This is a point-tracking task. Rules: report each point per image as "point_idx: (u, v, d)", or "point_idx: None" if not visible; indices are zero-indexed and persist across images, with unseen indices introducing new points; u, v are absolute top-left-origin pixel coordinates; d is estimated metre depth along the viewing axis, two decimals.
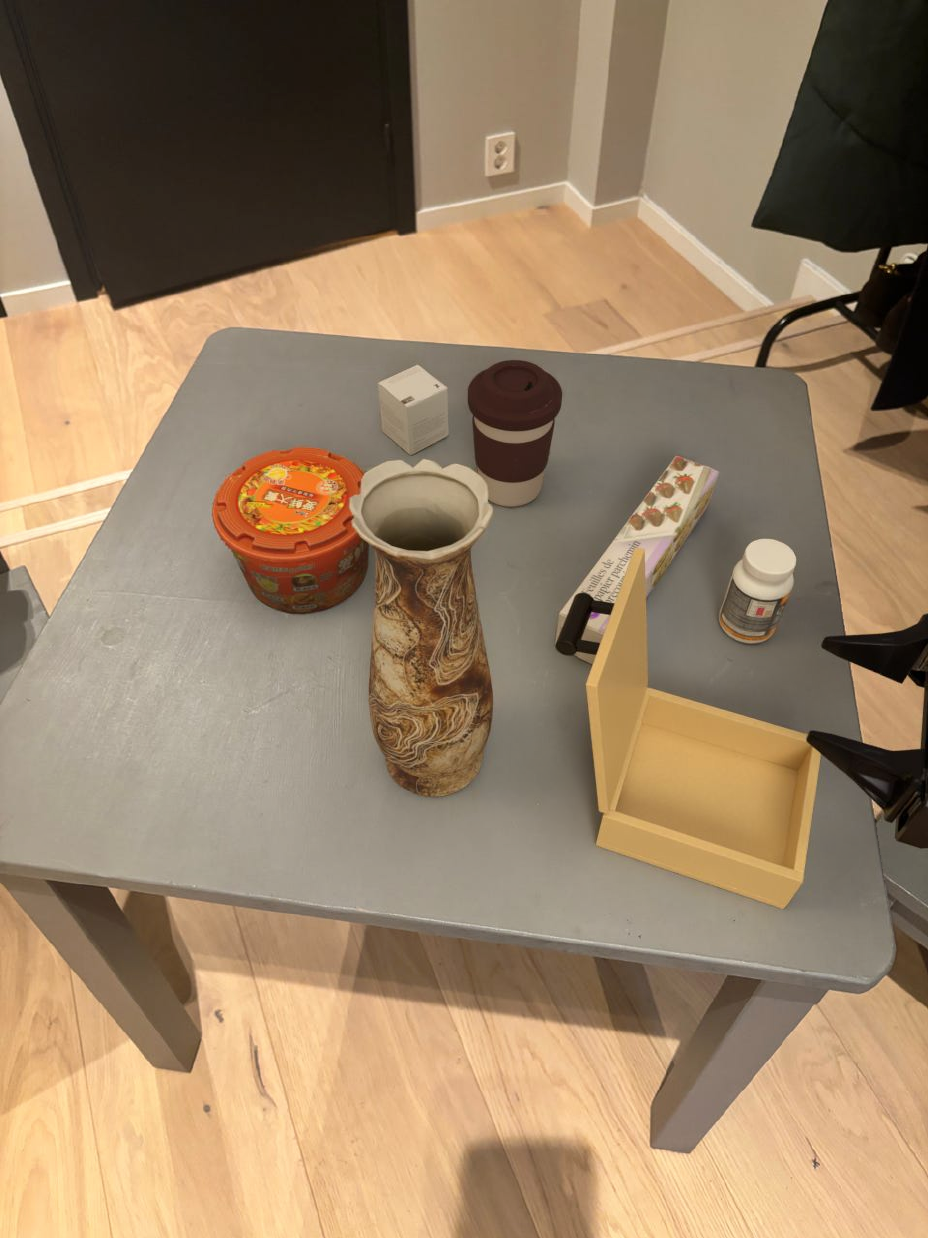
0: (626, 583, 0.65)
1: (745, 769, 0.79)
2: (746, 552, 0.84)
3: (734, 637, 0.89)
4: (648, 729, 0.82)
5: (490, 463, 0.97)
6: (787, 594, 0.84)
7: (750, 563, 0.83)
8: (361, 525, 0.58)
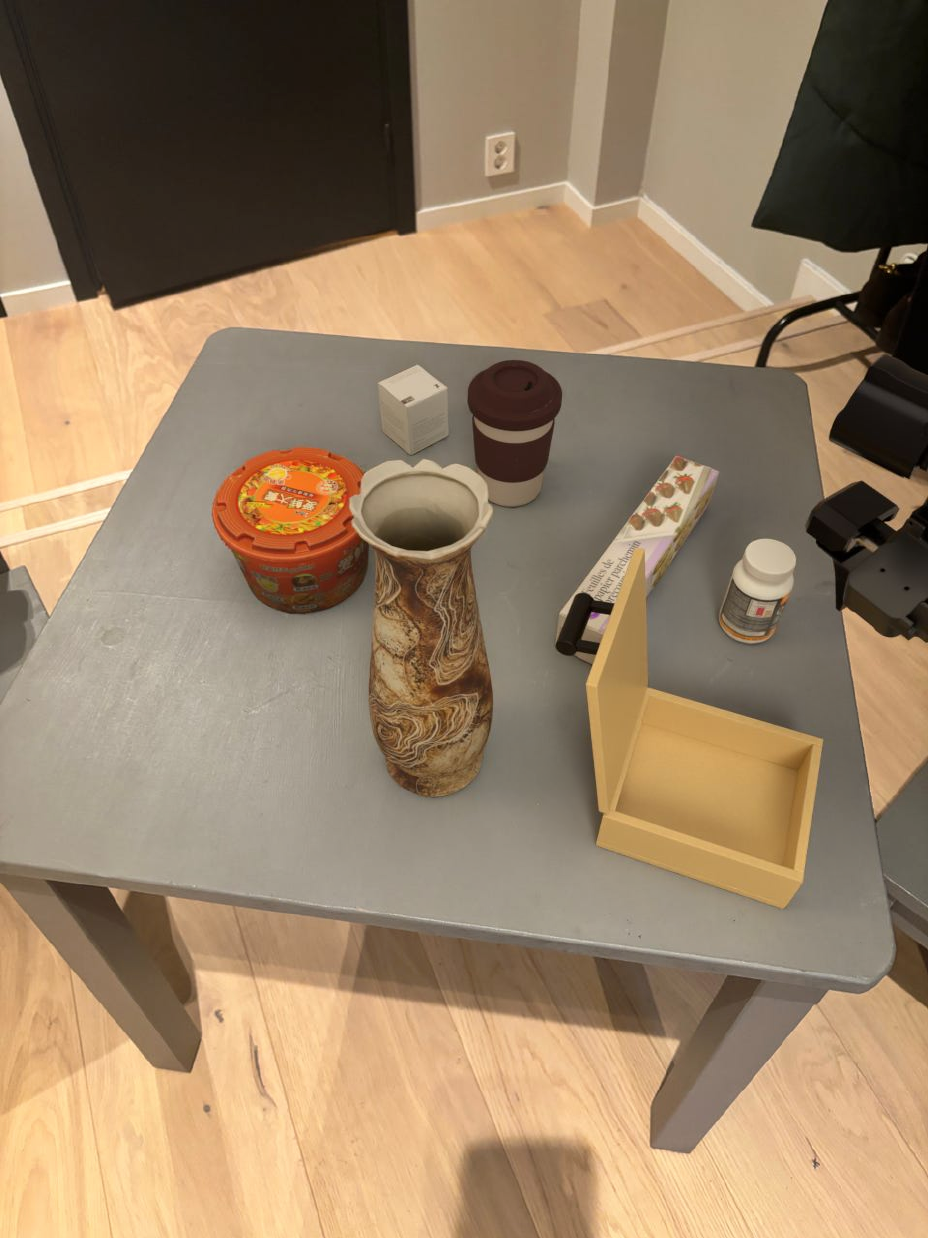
0: (626, 583, 0.65)
1: (745, 769, 0.79)
2: (746, 552, 0.84)
3: (734, 637, 0.89)
4: (648, 729, 0.82)
5: (490, 463, 0.97)
6: (787, 594, 0.84)
7: (750, 563, 0.83)
8: (361, 525, 0.58)
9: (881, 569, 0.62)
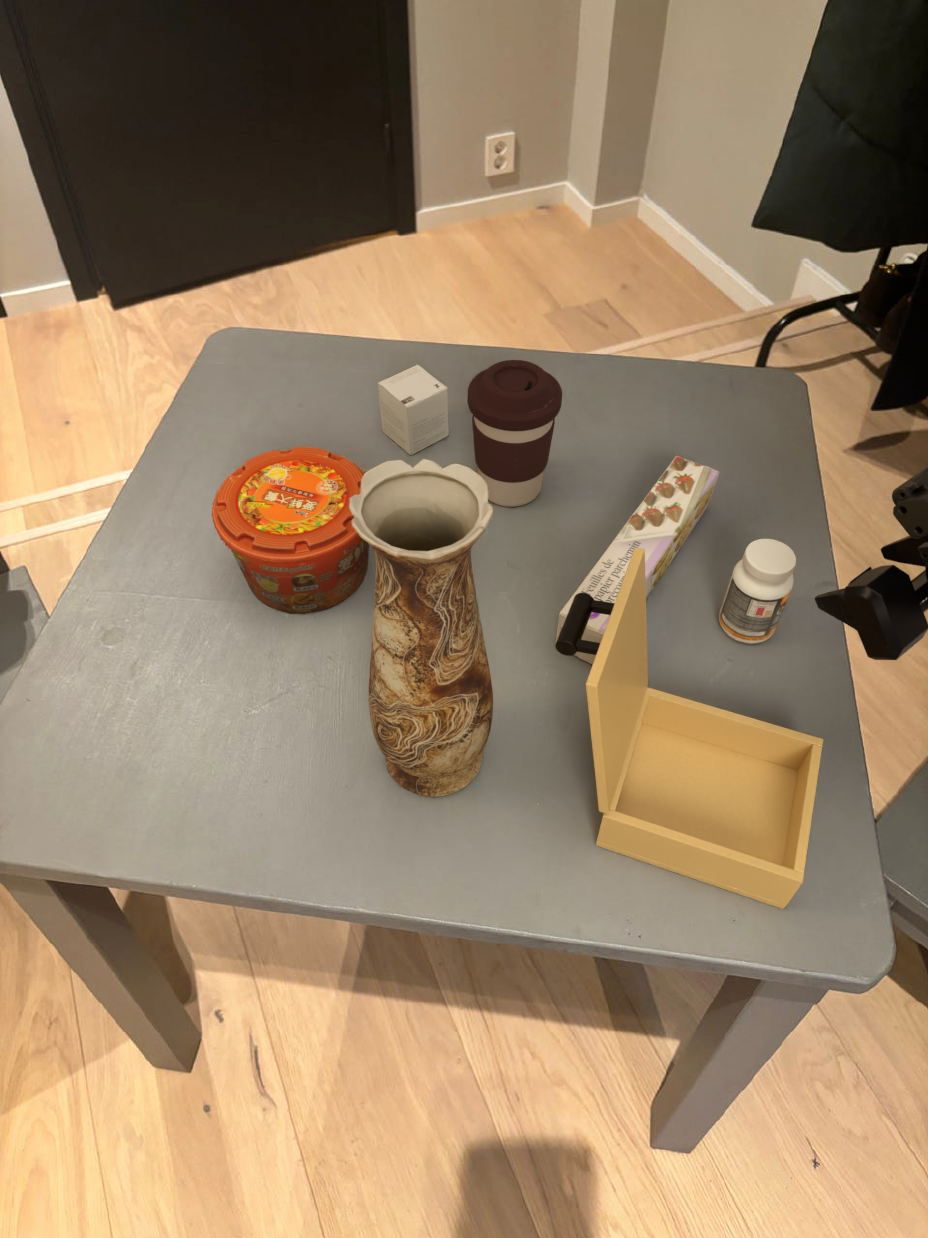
0: (626, 583, 0.65)
1: (745, 769, 0.79)
2: (746, 552, 0.84)
3: (734, 637, 0.89)
4: (648, 729, 0.82)
5: (490, 463, 0.97)
6: (787, 594, 0.84)
7: (750, 563, 0.83)
8: (361, 525, 0.58)
9: None
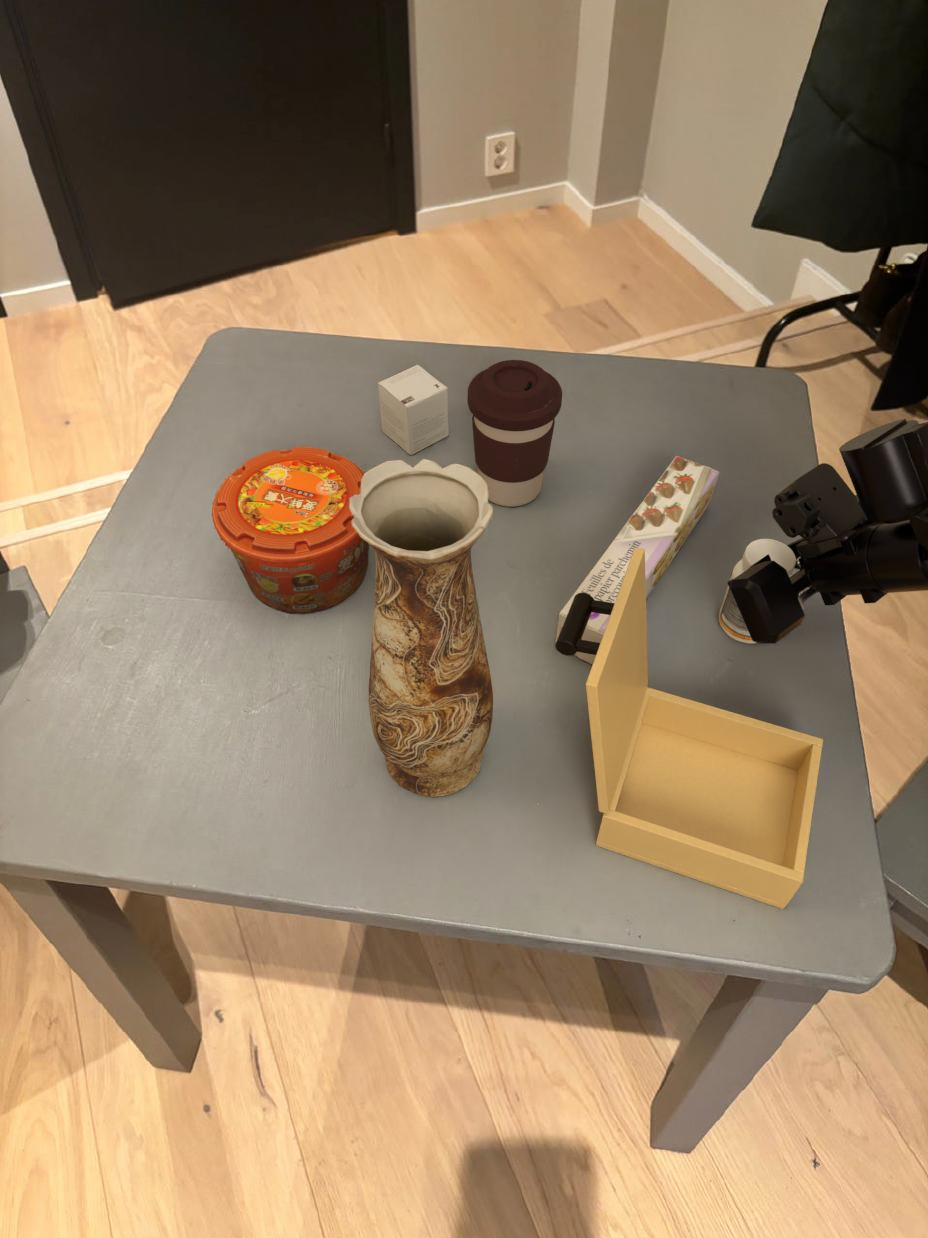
0: (626, 583, 0.65)
1: (745, 769, 0.79)
2: (746, 552, 0.84)
3: (734, 637, 0.89)
4: (648, 729, 0.82)
5: (490, 463, 0.97)
6: None
7: (749, 563, 0.83)
8: (361, 525, 0.58)
9: (834, 490, 0.75)
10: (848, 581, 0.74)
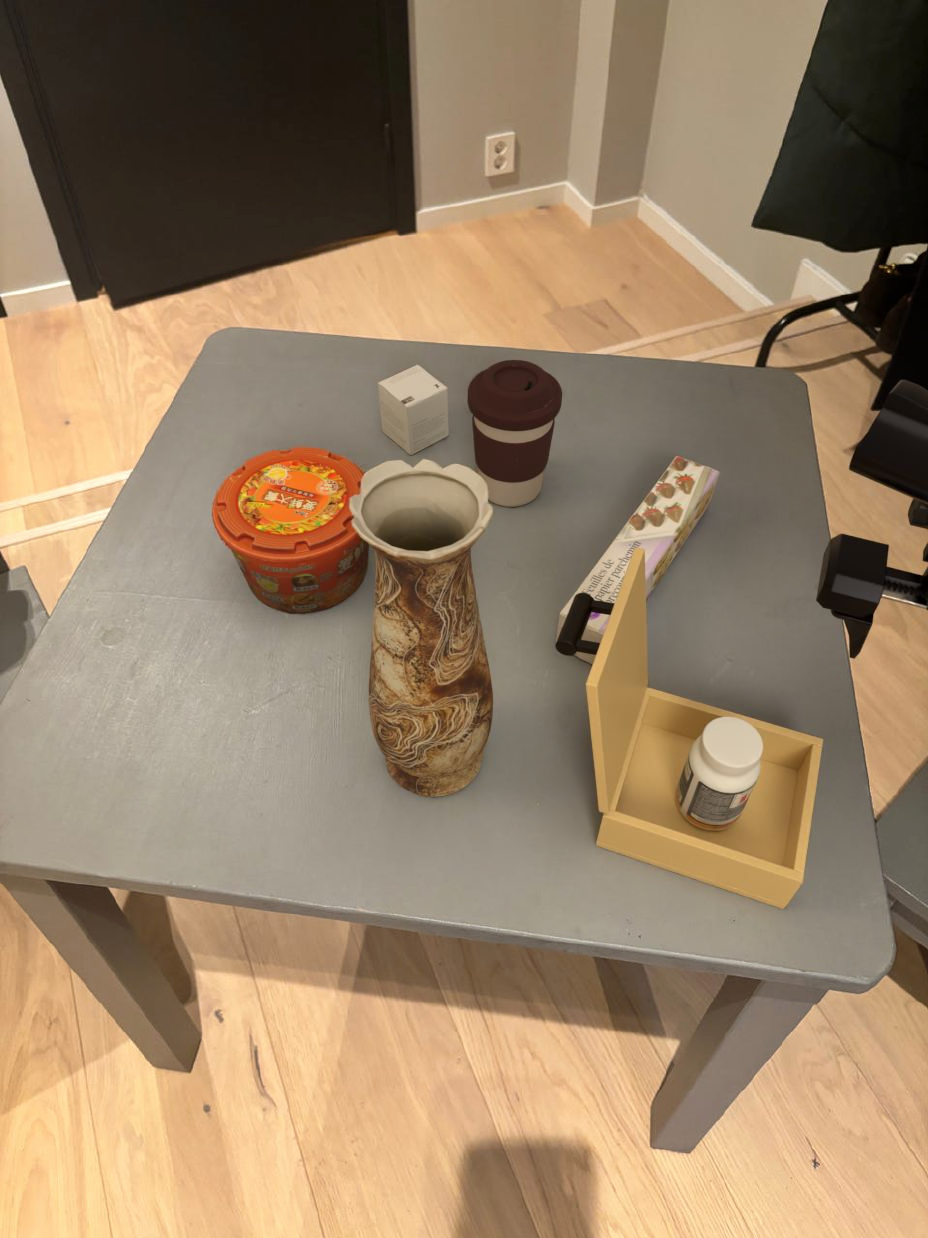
0: (626, 583, 0.65)
1: None
2: (709, 752, 0.69)
3: (715, 830, 0.75)
4: (648, 729, 0.82)
5: (490, 463, 0.97)
6: None
7: (724, 764, 0.68)
8: (361, 525, 0.58)
9: None
10: None
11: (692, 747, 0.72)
